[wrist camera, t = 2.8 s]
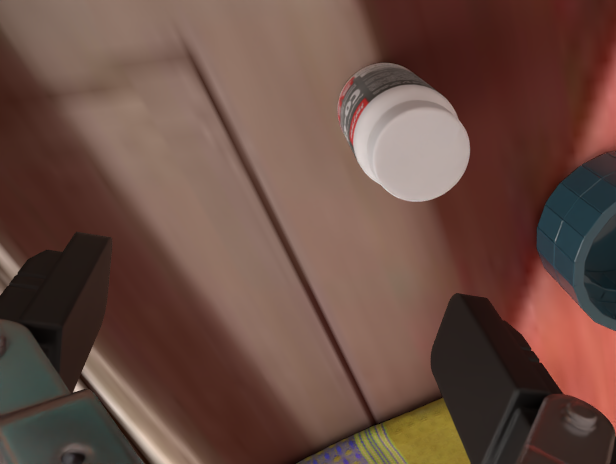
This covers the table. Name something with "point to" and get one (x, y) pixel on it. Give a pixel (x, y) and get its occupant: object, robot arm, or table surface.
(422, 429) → the dish towel
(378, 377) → the table surface
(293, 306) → the table surface
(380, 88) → the pill bottle
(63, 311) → the robot arm
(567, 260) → the bowl
